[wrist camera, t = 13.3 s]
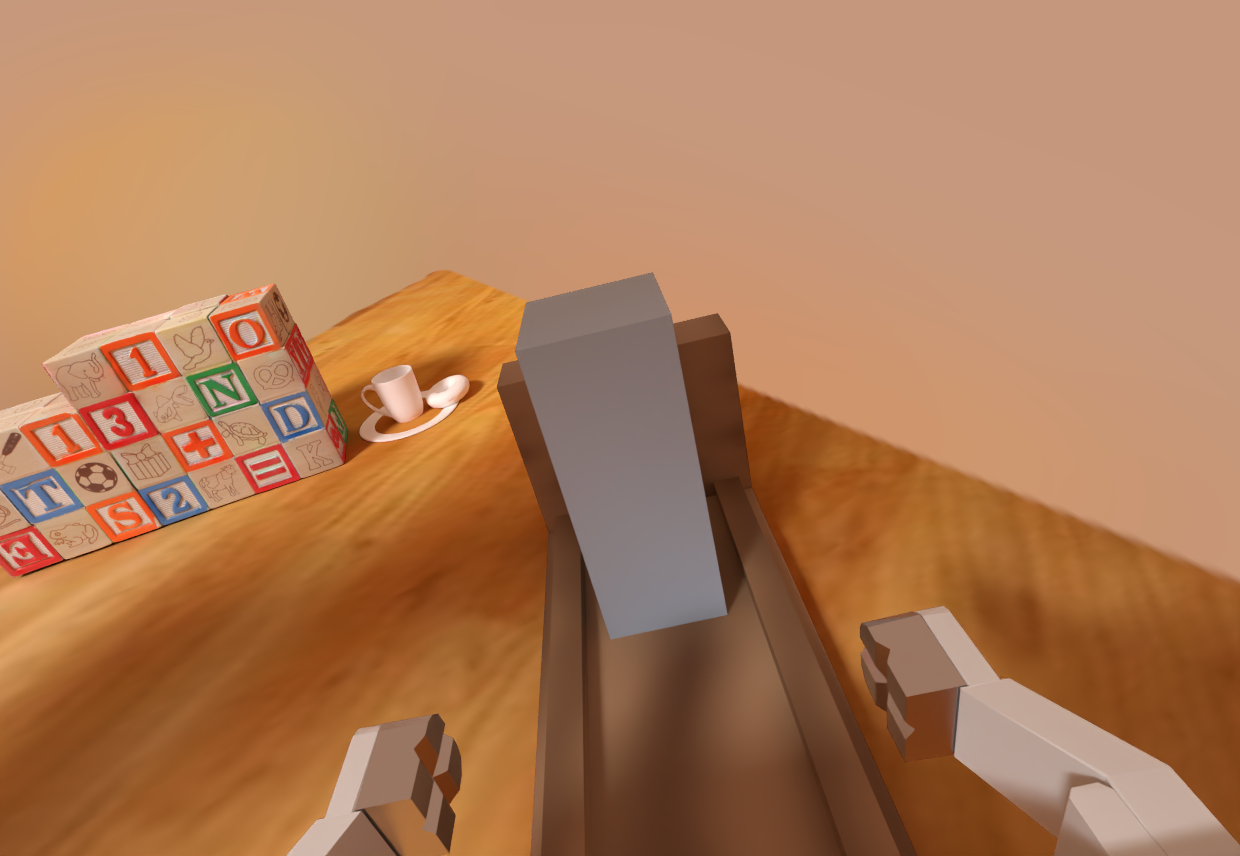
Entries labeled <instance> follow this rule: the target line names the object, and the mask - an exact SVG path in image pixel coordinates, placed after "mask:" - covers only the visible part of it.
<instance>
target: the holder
mask: <svg viewBox="0 0 1240 856" xmlns="http://www.w3.org/2000/svg"><path fill="white" fill-rule="evenodd" d="M673 326H674V332H675V337H676V342H677V348H678V353H679V358H680V364H681V369H682V374H683V380H684V385H685V390H686V396H687V401H688V406H689V412H690V417H691V422H692V428H693V433H694V438H695V444H696V449H697V454H698V460H699V465H700V470H701V476H702V481H703V486H704V492H705V497H706V502H707V508H708V513H709V518H710V524H711V529H712V534H713V540H714V545H715V550H716V556H717V561H718V566H719V572H720V577H721V582H722V588H723V593H724V598H725V604H726V609H727V614H728V615H724V616H720V617H715V618H710V619H706V620H701V621H696V622H691V623H687V624H682V625H677V626H672V627H668V628H663V629H658V630H653V631H649V632H644V633H639V634H634V635H630V636H625V637H620V638H615V639H610V636H609V633H608V630H607V627H606V624H605V621H604V618H603V615H602V612H601V609H600V606H599V603H598V600H597V597H596V594H595V591H594V588H593V585H592V582H591V579H590V576H589V573H588V570H587V567H586V564H585V561H584V558H583V555H582V552H581V549H580V545H579V542H578V539H577V536H576V533H575V530H574V527H573V524H572V521H571V518H570V515H569V512H568V509H567V506H566V503H565V500H564V497H563V494H562V491H561V488H560V485H559V482H558V479H557V476H556V473H555V470H554V467H553V464H552V461H551V458H550V455H549V452H548V449H547V446H546V443H545V440H544V437H543V434H542V431H541V428H540V425H539V422H538V419H537V416H536V413H535V410H534V407H533V404H532V401H531V398H530V395H529V392H528V389H527V386H526V383H525V380H524V376H523V373H522V370H521V367H520V364H519V361H518V360H517V361H513V362H508V363H504V364H503V365H502V369H501V373H500V377H499V381H498V385H497V389H498V392H499V394H500V397H501V400H502V403H503V406H504V408H505V411H506V414H507V417H508V419H509V422H510V425H511V428H512V431H513V433H514V436H515V439H516V442H517V445H518V447H519V450H520V453H521V456H522V458H523V461H524V464H525V467H526V470H527V472H528V475H529V478H530V481H531V484H532V486H533V489H534V492H535V495H536V498H537V500H538V503H539V506H540V509H541V511H542V514H543V517H544V520H545V523H546V525H547V528H548V531H549V538H548V556H547V574H546V592H545V610H544V628H543V645H542V663H541V681H540V699H539V717H538V735H537V752H536V770H535V788H534V806H533V824H532V842H531V856H917V854H916V852H915V850H914V848H913V845H912V843H911V841H910V839H909V836H908V834H907V832H906V830H905V828H904V825H903V823H902V821H901V819H900V816H899V814H898V812H897V810H896V807H895V805H894V803H893V801H892V799H891V796H890V794H889V792H888V790H887V787H886V785H885V783H884V781H883V779H882V776H881V774H880V772H879V770H878V767H877V765H876V763H875V761H874V758H873V756H872V754H871V752H870V750H869V747H868V745H867V743H866V741H865V738H864V736H863V734H862V732H861V730H860V727H859V725H858V723H857V721H856V718H855V716H854V714H853V712H852V709H851V707H850V705H849V703H848V701H847V698H846V696H845V694H844V692H843V689H842V687H841V685H840V683H839V681H838V678H837V676H836V674H835V672H834V669H833V667H832V665H831V663H830V660H829V658H828V656H827V654H826V652H825V649H824V647H823V645H822V643H821V640H820V638H819V636H818V634H817V632H816V629H815V627H814V625H813V623H812V620H811V618H810V616H809V614H808V612H807V609H806V607H805V605H804V603H803V600H802V598H801V596H800V594H799V591H798V589H797V587H796V585H795V583H794V580H793V578H792V576H791V574H790V571H789V569H788V567H787V565H786V563H785V560H784V558H783V556H782V554H781V551H780V549H779V547H778V545H777V542H776V540H775V538H774V536H773V534H772V531H771V529H770V527H769V525H768V522H767V520H766V518H765V516H764V514H763V511H762V509H761V507H760V505H759V502H758V500H757V498H756V496H755V493H754V491H753V489H752V486H751V478H750V471H749V464H748V457H747V450H746V443H745V435H744V428H743V421H742V414H741V407H740V399H739V392H738V385H737V378H736V371H735V363H734V356H733V349H732V343H731V335H730V332H729V330H728V328H727V327H726V325H725V324H724V322H723V321H722V319H721V318H720V316H719V315H718V314H713V315H709V316H705V317H700V318H696V319H691V320H687V321H683V322H679V323H675V324H673Z"/></svg>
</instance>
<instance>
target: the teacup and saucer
mask: <svg viewBox="0 0 1240 856" xmlns="http://www.w3.org/2000/svg"><path fill="white" fill-rule="evenodd" d="M371 383H372V385H367V386H365V387H364V388H363V390H362V391H361V399H362V401H363V402H364V403H365V404H366V405H367V406H368V407H369V408H371V409H372V410H374V411H375V412H374V413H373V414H372V415H370V416H369V417H368V418H367V419H366V420H365V421H364V422H363V424H362V425H361V427H360V431H359V433H360V436H361V437H362V438H363V439H364V440H367V441H371V442H387V441H393V440H398V439H402V438H405V437H409V436H412V435H414V434H417V433H419V432H422V431H424V430H426V429H428V428H430V427H432V426H434V425H436V424H437V423H439V422H440V421H442V420H443V419H445V418H446V417H447V416H448V415H450V414H451V413H452V412H453V411H454V409H455V408H456V407H457V405H458V403H459V400H460V399H462V398H463V397H464V396H465V395H466V393H467V392H468V390H469V380H468V379H467V378H466V377H465V376H463V375H454V376H450V377H447V378H445V379H443V380H441V381H439V382H438V383H436V384H435V385H434V386H433V387H432V388H431V389H430V390H427V391H422V392H420V389H419V386H418V384H417V381H416V378H415V375H414V373H413V370H412V368H411V366H409V365H400V366H395V367H392V368H389V369H386V370H384V371H382V372H380V373H378V374H377V375H375V376H374V377H373V378H372V379H371ZM366 390H373V391H376V393H377V395H378V396H379V398H380V400H381V402H382V403H383V405H384V406H383V407H382V408H380V409H377V408H376V407H374V406H373V405H371V404H370V403H369V402H368V401H367V400H366V399H365V397H364V395H363V394H364V392H365V391H366ZM422 398H426V402H427V404H428V405H430V406H431V407H433V408H444V409H443V410H442V412H441V413H440V414H439V415H437V416H436V417H435V418H434V419H432V420H431V421H429V422H427V423H425V424H423V425H421V426H419V427H417V428H414V429H412V430H409V431H405V432H401V433H396V434H381V433H378V432H377V431H376V430H375V424H376V422H377V421H378V420H379V419H380V418H381V417H382V416H383V415H385V416H388V417H391V418H393V419H395V420H396V421H397V422H400V423H404V422H409V421H412V420H414V419H416V418H418V417H419V416H420V415H421V414H422V413H423V400H422ZM387 412H388V413H387Z"/></svg>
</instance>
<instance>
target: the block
mask: <svg viewBox="0 0 1240 856" xmlns="http://www.w3.org/2000/svg"><path fill="white" fill-rule="evenodd" d="M515 352H516V355H517V358H518V361H519V364H520V367H521V370H522V373H523V376H524V380H525V383H526V386H527V389H528V392H529V395H530V398H531V401H532V404H533V407H534V410H535V413H536V416H537V419H538V422H539V425H540V428H541V431H542V434H543V437H544V440H545V443H546V446H547V449H548V452H549V455H550V458H551V461H552V464H553V467H554V470H555V473H556V476H557V479H558V482H559V485H560V488H561V491H562V494H563V497H564V500H565V503H566V506H567V509H568V512H569V515H570V518H571V521H572V524H573V527H574V530H575V533H576V536H577V539H578V542H579V545H580V549H581V552H582V555H583V558H584V561H585V564H586V567H587V570H588V573H589V576H590V579H591V582H592V585H593V588H594V591H595V594H596V597H597V600H598V603H599V606H600V609H601V612H602V615H603V618H604V621H605V624H606V627H607V630H608V633H609V636H610V639H615V638H620V637H625V636H630V635H634V634H639V633H644V632H649V631H653V630H658V629H663V628H668V627H672V626H677V625H682V624H687V623H691V622H696V621H701V620H706V619H710V618H715V617H720V616H724V615H728V614H727V609H726V604H725V598H724V593H723V588H722V582H721V577H720V572H719V566H718V561H717V556H716V550H715V545H714V540H713V534H712V529H711V524H710V518H709V513H708V508H707V502H706V497H705V492H704V486H703V481H702V476H701V470H700V465H699V460H698V454H697V449H696V444H695V438H694V433H693V428H692V422H691V417H690V412H689V406H688V401H687V396H686V390H685V385H684V380H683V374H682V369H681V364H680V358H679V353H678V348H677V342H676V337H675V332H674V326H673V322H672V316H671V313H670V310H669V308H668V306H667V304H666V301H665V299H664V297H663V295H662V292H661V290H660V288H659V286H658V283H657V281H656V279H655V277H654V274H653V273H648V274H644V275H640V276H636V277H632V278H627V279H623V280H619V281H615V282H611V283H607V284H602V285H598V286H594V287H590V288H586V289H581V290H578V291H573V292H569V293H565V294H561V295H556V296H552V297H548V298H544V299H540V300H536V301H531V302H527V303H526V305H525V309H524V314H523V318H522V323H521V328H520V332H519V337H518V341H517V346H516V350H515Z"/></svg>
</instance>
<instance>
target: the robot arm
mask: <svg viewBox="0 0 1240 856" xmlns="http://www.w3.org/2000/svg"><path fill="white" fill-rule="evenodd" d="M860 638H861V640H862V642H863V644H864V645H865V648H864V650H863V651H862V652H861V665H862V669H863V673H864V677H865V681H866V683H867V686H868V689H869V691H870V693H871V695H872V697H873V700H874V702H875V704H876V705H877V706H878V707H880V708H881V709H883V710H884V711H886V712H887V728H888V730H889V732H890V734H891V736H892V738H893V740H894V742H895V744H896V746H897V747H898V749H899V751H900V753H901V755H902V757H903V759H904V761H905V762H910V761H916V760H922V759H928V758H934V757H940V756H945V755H951V754H954V757H955V758H956V759H958V760H959V761H960V762H961V763H963V764H964V765H965V766H966V767H968V768H969V769H970V770H971V771H973V772H974V773H975V774H977V775H978V776H979V777H980V778H982V779H983V780H984V781H985V782H987V783H988V784H989V785H990V786H992V787H993V788H994V789H995V790H997V791H998V792H999V793H1000V794H1002V795H1003V796H1004V797H1005V798H1007V799H1008V800H1009V801H1011V802H1012V803H1013V804H1014V805H1016V806H1017V807H1018V808H1019V809H1021V810H1022V811H1023V812H1024V813H1026V814H1027V815H1028V816H1029V817H1031V818H1032V819H1033V820H1034V821H1036V822H1037V823H1038V824H1039V825H1041V826H1042V827H1043V828H1045V829H1046V830H1047V831H1048V832H1050V833H1051V834H1052V835H1053V836H1055V837H1056V838H1057V839H1058V840H1057V844H1056V848H1055V852H1054V856H1240V845H1239V843H1238V842H1237V841H1236V840H1235V839H1234V838H1233V837H1232V836H1231V834H1230V833H1229V832H1228V831H1227V830H1226V829H1225V828H1224V827H1223V825H1222V824H1221V823H1220V822H1219V821H1218V820H1217V819H1216V818H1215V816H1214V815H1213V814H1212V813H1211V812H1210V811H1209V810H1208V809H1207V807H1206V806H1205V805H1204V804H1203V803H1202V802H1201V801H1200V799H1199V798H1198V797H1197V796H1196V795H1195V794H1194V793H1193V792H1192V790H1191V789H1190V788H1189V787H1188V786H1187V785H1186V784H1185V783H1184V781H1183V780H1182V779H1181V778H1180V777H1179V776H1178V775H1177V774H1176V772H1175V771H1174V770H1173V769H1172V768H1171V767H1170V766H1168V765H1167V764H1165V763H1163V762H1161V761H1159V760H1158V759H1156V758H1154V757H1152V756H1150V755H1148V754H1147V753H1145V752H1143V751H1141V750H1139V749H1138V748H1136V747H1134V746H1132V745H1130V744H1128V743H1127V742H1125V741H1123V740H1121V739H1119V738H1118V737H1116V736H1114V735H1112V734H1110V733H1109V732H1107V731H1105V730H1103V729H1101V728H1099V727H1098V726H1096V725H1094V724H1092V723H1090V722H1089V721H1087V720H1085V719H1083V718H1081V717H1079V716H1078V715H1076V714H1074V713H1072V712H1070V711H1069V710H1067V709H1065V708H1063V707H1061V706H1059V705H1058V704H1056V703H1054V702H1052V701H1050V700H1049V699H1047V698H1045V697H1043V696H1041V695H1039V694H1038V693H1036V692H1034V691H1032V690H1030V689H1029V688H1027V687H1025V686H1023V685H1021V684H1019V683H1018V682H1016V681H1014V680H1012V679H1010V678H1006V679H1000V678H999V676H998V675H997V674H996V672H995V671H994V670H993V668H992V667H991V666H990V664H989V663H988V662H987V660H986V659H985V658H984V656H983V655H982V654H981V652H980V651H979V649H978V648H977V647H976V645H975V644H974V643H973V641H972V640H971V639H970V637H969V636H968V635H967V633H966V632H965V631H964V629H963V628H962V627H961V625H960V624H959V622H958V621H957V620H956V618H955V617H954V616H953V614H952V613H951V612H950V610H949V609H947V608H946V607H944V606H939V607H934V608H930V609H925V610H920V611H916V612H908V613H904V614H899V615H895V616H890V617H886V618H882V619H877V620H873V621H868V622H864V623H862V624H861V626H860ZM444 727H445V723H444V722H443V720H442V719H441V717H440V716H439V714H434V715H428V716H423V717H417V718H412V719H406V720H401V721H395V722H390V723H384V724H379V725H374V726H369V727H364V728H359V729H358V730H357V732H356V733H355V734H354V736H353V737H352V739H351V742H350V745H349V748H348V751H347V754H346V757H345V760H344V763H343V766H342V769H341V772H340V775H339V777H338V780H337V783H336V786H335V789H334V792H333V795H332V798H331V801H330V804H329V807H328V810H327V813H326V815H325V818H321V819H317V820H316V821H315V823H314V824H313V825H312V826H311V827H310V828H309V830H308V831H307V832H306V833H305V834H304V835H303V837H302V838H301V839H300V840H299V841H298V842H297V844H296V845H295V846H294V847H293V848H292V849H291V850H290V852H289V853H288V854H287V855H286V856H441V855H445V854H449V852H450V846H451V840H452V834H453V828H454V821H455V813H454V811H453V810H452V808H451V806H450V803H451V801H452V800H453V799H454V797H455V796H456V794H457V793H458V792H459V790H460V783H461V776H462V770H461V756H460V752H459V749H458V746H457V744H456V742H455V740H454V739H453V738H452V737H450V736H447V735H445V734H443V732H444Z"/></svg>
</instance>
